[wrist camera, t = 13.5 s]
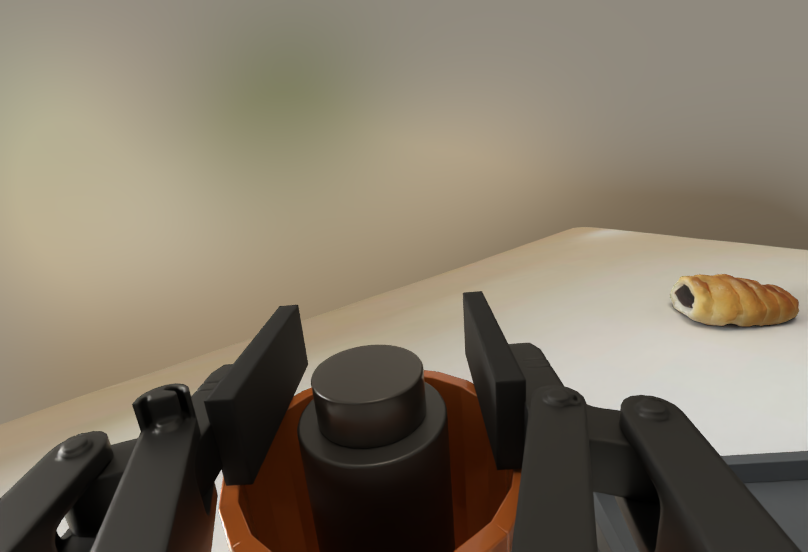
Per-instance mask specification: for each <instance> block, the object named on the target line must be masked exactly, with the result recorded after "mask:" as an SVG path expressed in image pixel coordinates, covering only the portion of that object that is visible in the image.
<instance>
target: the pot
mask: <svg viewBox="0 0 808 552" xmlns="http://www.w3.org/2000/svg"><path fill="white" fill-rule="evenodd" d="M424 382H426V383H428V384H430V385H431V386H432V387H434V388H435V389H436V390H437V391H438V392H439V393H440V395H441V396H442V398H443V399H444V401H445V403H446V407H447V417H448V434H449V451H450V467H451V484H452V501H453V518H454V535H455V551H453V552H511V549H512V541H513V533H514V525H515V518H516V510H517V502H518V494H519V486H520V479H521V471H522V469H509V470H497V468H496V464H495V460H494V457H493V453H492V449H491V446H490V442H489V438H488V435H487V431H486V427H485V424H484V420H483V416H482V413H481V409H480V405H479V402H478V398H477V394H476V391H475V387H474V384H473V383H471V382H469V381H467V380H464V379H461V378H457V377H454V376H451V375H447V374H444V373H440V372H436V371H427V370H424ZM313 399H314V398H313V392H312V388H309V389H307V390H304V391H302V392H301V393H298V394H297V395H295V396H294V397H293V398H292V401H291V403H290V405H289V407H288V409H287V411H286V414H285V416H284V418H283V420H282V422H281V424H280V427H279V429H278V431H277V433H276V435H275V438H274V440H273V442H272V444H271V446H270V448H269V451H268V453H267V455H266V457H265V459H264V462H263V464H262V466H261V468H260V470H259V472H258V475H257V477H256V479H255V481H254V483H253V484H251V485H234V486H226V484H225V480H224V476H223V481H222V488H221V495H220V501H219V508H218V509H219V515H220V519H221V523H222V526H223V530H224V533H225V537H226V541H227V544H228V548H229V551H230V552H320V551H319V546H318V541H317V535H316V530H315V525H314V520H313V514H312V509H311V504H310V499H309V493H308V488H307V483H306V478H305V472H304V467H303V462H302V457H301V451H300V446H299V441H298V435H297V427H298V422H299V419H300V416H301V414H302V412H303V410H304V409H305V408H306V406H307V405H308V404H309V403H310V402H311V400H313Z"/></svg>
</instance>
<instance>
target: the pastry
mask: <svg viewBox="0 0 808 552" xmlns="http://www.w3.org/2000/svg"><path fill="white" fill-rule="evenodd" d="M670 298H671V300H672V302H673V307H674V308H675V309H676V310H678V311H679V312H681V313H683V314H685V315H686V316H688V317H689V318H691V319H692V320H694V321H697V322H701V323H704V324H706V325H719V326H724V325H726V324H730V323H733V324H737V325H738V326H752V325H760V326H763V325H769V326H770V325H772V324H780V323H782V322H786V321H788V320H790V319H792V318H795V317H796V316H797V314H798V312H799V309H798V306H799V302H798V300H797V299H796V298H794V297H793V296H792V295H791V294H790V293H789V292H787V291H785V290H784V289H782V288H780V287H778V286H775V285H770V284H767V285H761V284H760V283H759V282H757V281H754V280H749V279H743V278H734V277H733V276H730V275H727V274H722V275H719V274H718V275H714V276H709V275H694V276H682V277H680V279H679V281H678V282H677V283H676V284H675V285H674V287H673V289H672V290H671V294H670Z"/></svg>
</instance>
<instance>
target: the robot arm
mask: <svg viewBox="0 0 808 552" xmlns="http://www.w3.org/2000/svg"><path fill="white" fill-rule="evenodd" d="M463 308H464V332H465V354H466V358H467V361H468V365H469V369H470V372H471V376H472V380H473V383H474V387H475V391H476V394H477V398H478V402H479V405H480V409H481V413H482V416H483V420H484V424H485V427H486V431H487V435H488V438H489V442H490V446H491V449H492V453H493V457H494V460H495V464H496V468H497V470H509V469H522V471H521V479H520V486H519V494H518V502H517V510H516V518H515V525H514V533H513V541H512V549H511V552H598V547H597V534H596V521H595V508H594V496H593V492H598V493H603V494H608V495H613V496H615V500H616V502H617V504H618V506H619V508H620V511H621V513H622V515H623V517H624V519H625V522H626V524H627V526H628V528H629V530H630V533H631V535H632V537H633V539H634V541H635V544H636V546H637V548H638V550H639V552H801V550H800V549H799V548H798V547H797V546H796V544H795V543H794V542H793V541H792V540H791V539H790V537H789V536H788V535H787V534H786V533H785V532H784V530H783V529H782V528H781V527H780V526H779V524H778V523H777V522H776V521H775V520H774V519H773V517H772V516H771V515H770V514H769V513H768V511H767V510H766V509H765V508H764V507H763V506H762V504H761V503H760V502H759V501H758V500H757V499H756V497H755V496H754V495H753V494H752V493H751V491H750V490H749V489H748V488H747V487H746V486H745V484H744V483H743V482H742V481H741V480H740V479H739V477H738V476H737V475H736V474H735V473H734V471H733V470H732V469H731V468H730V467H729V466H728V464H727V463H726V462H725V461H724V460H723V459H722V457H721V456H720V455H719V454H718V453H717V451H716V450H715V449H714V448H713V447H712V446H711V444H710V443H709V442H708V441H707V440H706V438H705V437H704V436H703V435H702V434H701V433H700V431H699V430H698V429H697V428H696V427H695V426H694V424H693V423H692V422H691V421H690V420H689V418H688V417H687V416H686V415H685V414H684V413H683V411H681V410H680V409H679V408H678V407H677V406H675V405H674V404H672V403H670V402H668V401H666V400H664V399H661V398H658V397H654V396H645V395H637V396H630V397H628V398H626V399H624V400H623V402H622V404H621V410H620V411H618V410H611V409H603V408H598V407H593V406H590V405H587V404H586V401H585V399H584V397H583V396H582V395H581V394H579V393H578V392H577V391H575V390H573V389H570V388H568V387H564V385H563V384H562V382H561V380H560V379H559V377H558V376H557V374H556V373H555V371H554V370H553V368H552V367H551V366H550V363H549V362H548V360H546V357H545V356H544V354H543V353H542V351H541V350H540V349H539V348H537V347H536V346H534V345H532V344H531V343H518V344H508V343H507V341H506V339H505V337H504V335H503V333H502V331H501V329H500V327H499V325H498V323H497V321H496V319H495V317H494V315H493V313H492V311H491V309H490V307H489V305H488V303H487V301H486V299H485V297H484V295H483V293H482V291H480V292H466V293H463ZM307 366H308V360H307V355H306V349H305V343H304V337H303V331H302V325H301V320H300V313H299V308H298V305H290V306H279V308H278V309H277V310H276V312H275V313H274V314H273V315H272V316H271V318H270V319H269V320H268V321H267V323H266V324H265V325H264V326H263V328H262V329H261V330H260V331H259V333H258V334H257V335H256V336H255V338H254V339H253V340H252V341H251V343H250V344H249V345H248V346H247V348H246V349H245V350H244V351H243V353H242V354H241V355H240V356H239V358H238V359H237V360H236V361H235V363H234V364H228V365H223V366H222V367H220V368H219V369H217V370H216V371H214V372H213V373H211V374H210V376H209V377H208V378H207V379H206V380H205V381H204V384H202V385H201V386H200V387H199V388H198V389H197V390H198V391H196V392H195V393H194V394H193V395H192V396H191V395H190V391H189V387H188V386H186V385H184V384H169V385H164V386H161V387H158V388H155V389H153V390H150V391H148V392H146V393H144V394H143V395H141V396H140V397H139V398H137V399H136V400H135V402H134V403H133V404H132V405H133V408H134V411H135V415H136V418H137V421H138V424H139V427H140V430H141V433H140V435H139V438H137V439H133V440H129V441H125V442H121V443H117V444H113V445H111V444H110V442H109V439H108V436H107V434H106V433H104V432H102V431H92V432H88V433H81V434H78V435H76V436H73V437H71V438H68V439H67V440H66V441H64V442H62V443H60V444H59V445H57V446H56V447H54V448H53V449H52V450H51V451H49V452H48V453H47V454H46V455H45V456H44V457H43V458H42V459H41V460H40V461H39V462H38V463H37V464H36V465H35V466H34V467H32V468H31V469H30V470H29V471H28V472H27V473H26V474H25V475H24V476H23V477H22V478H21V479H20V480H19V481H18V482H17V483H16V484H15V485H14V486H13V487H12V488H11V489H10V490H9V491H7V492H6V493H5V494H4V495H3V496H2V497H1V498H0V552H211V548H212V540H213V531H214V522H215V514H216V505H217V496H218V495H217V490H216V486H215V483H214V481H215V480H216V478H217V476H218V474H219V473H220V471H221V469H222V473H223V476H224V480H225V484H226V486H234V485H251V484H253V483H254V481H255V479H256V477H257V475H258V472H259V470H260V468H261V466H262V464H263V462H264V459H265V457H266V455H267V453H268V451H269V448H270V446H271V444H272V442H273V440H274V438H275V435H276V433H277V431H278V429H279V427H280V424H281V422H282V420H283V418H284V416H285V414H286V411H287V409H288V407H289V405H290V403H291V401H292V398H293V396H294V394H295V392H296V390H297V387H298V385H299V383H300V381H301V379H302V377H303V374H304V372H305V370H306V368H307ZM64 516H65V518H66V521H67V523H68V525H69V529H68V530H67V531H66V533H65V534H64V535H63V536H62V537H61V538H60V537H59V536H58V533H57V531H56V530H57V527H58V526H59V524H60V522H61V520H62V519H63V518H64Z"/></svg>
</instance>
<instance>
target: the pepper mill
mask: <svg viewBox="0 0 808 552" xmlns="http://www.w3.org/2000/svg"><path fill="white" fill-rule="evenodd" d="M311 386H312V392H313V398H314V399H313V400H311V402H310V403H309V404H308V405H307V406H306V408H305V409H304V410H303V412H302V414H301V416H300V419H299V422H298V427H297V435H298V441H299V446H300V451H301V457H302V462H303V467H304V472H305V478H306V483H307V488H308V493H309V499H310V504H311V509H312V514H313V520H314V525H315V530H316V535H317V541H318V546H319V551H320V552H453V551H455V535H454V518H453V501H452V484H451V467H450V451H449V434H448V417H447V407H446V403H445V401H444V399H443V398H442V396H441V395H440V393H439V392H438V391H437V390H436V389H435V388H434V387H432V386H431V385H430V384H428V383H426V382H424V369H423V364H422V362H421V360H420V359H419V357H418V356H417V355H415V354H414V353H413V352H411V351H409V350H407V349H404V348H401V347H397V346H391V345H367V346H360V347H355V348H351V349H348V350H345V351H342V352H339V353H337V354H335V355H333V356H331V357H329V358H328V359H326V360H325V361H323V362H322V363H321V364H320V365H319V366H318V367H317V368H316V369H315V371H314V373H313V375H312V379H311Z"/></svg>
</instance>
